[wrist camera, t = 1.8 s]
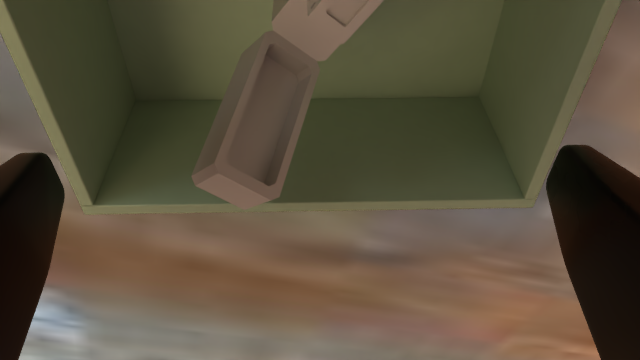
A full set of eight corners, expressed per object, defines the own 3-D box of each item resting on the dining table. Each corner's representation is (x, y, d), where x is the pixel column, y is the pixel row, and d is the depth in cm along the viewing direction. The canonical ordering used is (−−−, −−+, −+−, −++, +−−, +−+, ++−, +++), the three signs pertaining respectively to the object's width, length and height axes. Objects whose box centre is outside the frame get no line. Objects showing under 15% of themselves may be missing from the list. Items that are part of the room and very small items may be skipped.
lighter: (364, -162, 14) (410, -55, 8) (409, -116, 14) (481, 12, 9) (223, 31, 17) (184, 200, 12) (265, 59, 18) (248, 230, 12)
